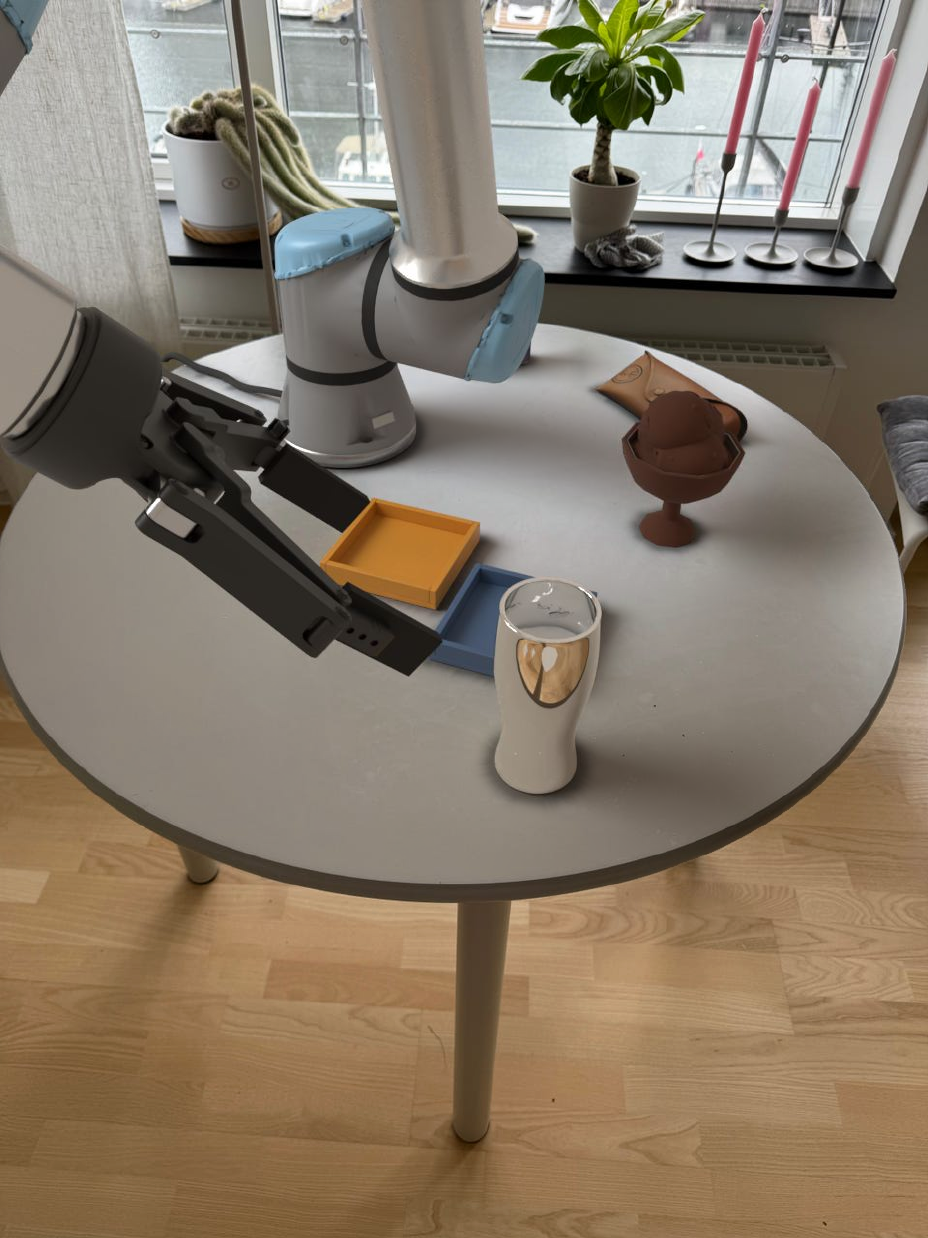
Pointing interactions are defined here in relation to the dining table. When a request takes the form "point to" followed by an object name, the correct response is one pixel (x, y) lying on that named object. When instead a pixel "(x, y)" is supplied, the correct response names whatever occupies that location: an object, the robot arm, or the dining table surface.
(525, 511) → the dining table surface
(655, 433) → the ice cream bowl
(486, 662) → the blue tray
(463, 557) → the amber tray
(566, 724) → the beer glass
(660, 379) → the sunglasses case
